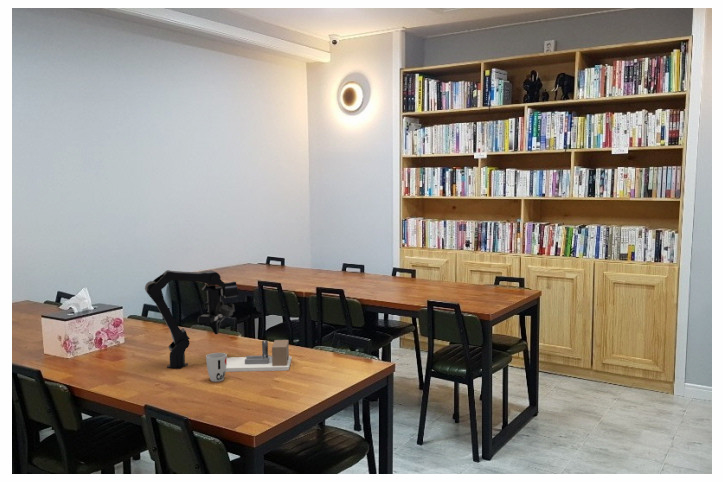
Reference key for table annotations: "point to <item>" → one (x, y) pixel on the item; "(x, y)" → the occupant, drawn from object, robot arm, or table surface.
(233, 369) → the base
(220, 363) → the cup
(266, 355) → the bolt
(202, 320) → the robot arm
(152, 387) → the table surface
